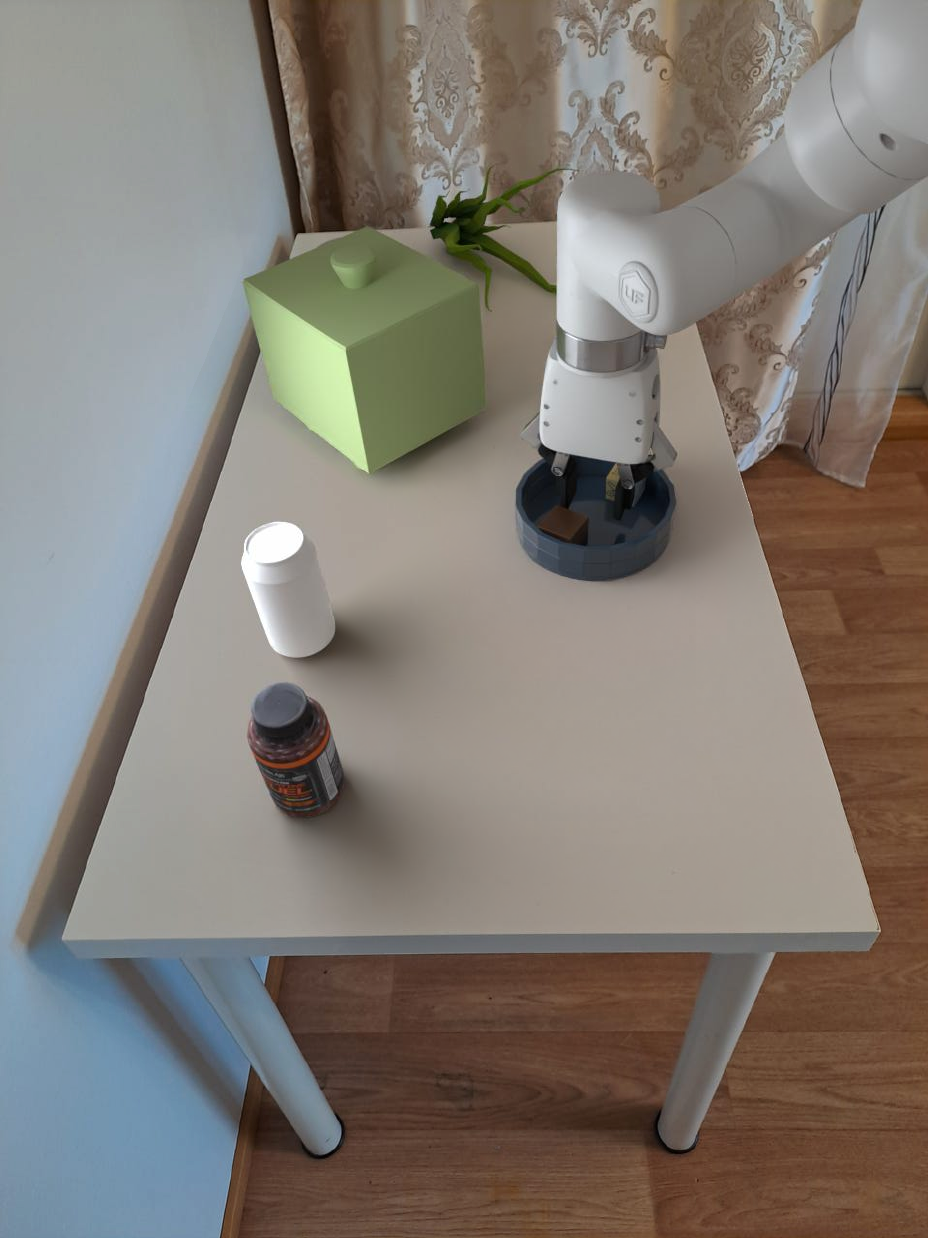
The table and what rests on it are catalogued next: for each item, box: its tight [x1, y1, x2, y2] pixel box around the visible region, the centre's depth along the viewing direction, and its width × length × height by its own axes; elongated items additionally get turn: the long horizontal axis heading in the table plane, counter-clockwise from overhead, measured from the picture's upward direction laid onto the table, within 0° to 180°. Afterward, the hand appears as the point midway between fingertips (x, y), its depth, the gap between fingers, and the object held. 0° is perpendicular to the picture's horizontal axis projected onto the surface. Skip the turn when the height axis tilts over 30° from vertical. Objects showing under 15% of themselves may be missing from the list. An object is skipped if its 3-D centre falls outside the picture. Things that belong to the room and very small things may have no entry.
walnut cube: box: [538, 505, 589, 546], centre depth 86 cm, size 4×4×4 cm
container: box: [241, 225, 488, 475], centre depth 97 cm, size 19×16×20 cm
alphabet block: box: [606, 463, 646, 507], centre depth 90 cm, size 3×3×3 cm
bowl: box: [514, 454, 677, 582], centre depth 88 cm, size 15×15×4 cm
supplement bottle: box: [246, 681, 345, 818], centre depth 68 cm, size 6×6×11 cm
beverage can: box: [241, 521, 336, 658], centre depth 78 cm, size 6×6×12 cm
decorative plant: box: [429, 163, 580, 313], centre depth 118 cm, size 18×30×15 cm, turn 12°
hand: (594, 504), depth 88 cm, fingers open, 4 cm apart
